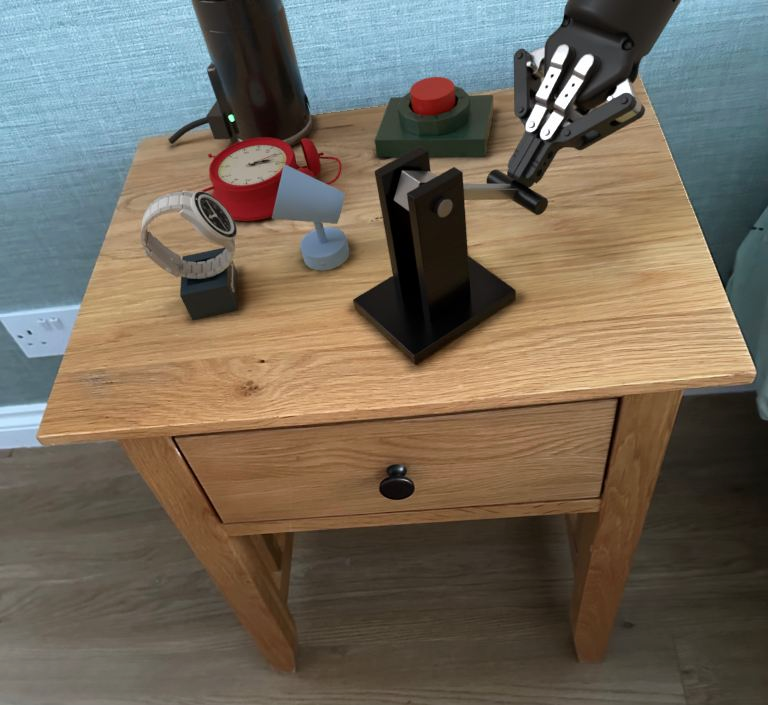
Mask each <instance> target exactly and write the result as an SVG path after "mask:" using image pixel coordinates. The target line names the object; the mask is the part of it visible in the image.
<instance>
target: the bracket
mask: <svg viewBox="0 0 768 705" xmlns="http://www.w3.org/2000/svg"><path fill="white" fill-rule="evenodd" d="M430 162H431V161H430V157H429V151H428V150H426V149H425V148H423V147H421V146H420V147H418V148H416V149H414V150H412V151H410V152H408V153H407V154H405V155H403V156H401V157H396V158H395V159H394V160H392V161H390V162H388V163H386V164H384V165H383V166H381V167H379V168H377V169H375V170H374V171H373V172H374V176H375V182H376V183H375V184H376V189H377V194H378V199H379V205H380V211H381V216H382V222H383V228H384V233H385V240H386V245H387V250H388V257H389V262H390V268H391V274H392V275H391V276H390V277H388V278H387V279H384V280H383V281H381V282H380V283H378V284H376V285H375V286H373V287H371V288H370V289H368V290H366V291H364V292H363V293H361V294H359V295H357V297H354V298H353V299H352V302H353V307H354V310H355V311H356V312H358V314H360V315H361V316H362V317H363V318H364V319H365V320H366V321H367V322H368V323H369V324H371V325H372V326H373V328H375V329H376V330H377V331H378V332H379V333H380V334H381V335H382V336H384V338H386V339H387V340H388V341H389V342H390V343H391V344H392V345H393V346H394V347H395V348H396V349H397V350H398V351H399V352H400V353H401V354H402V355H404V356H405V357H406V358H407V359H408V360H409V361H410V362H411V363H412V364H413V365H414V366H417V365H419V364H420V363H422V362H423V361H425V360H426V359H428V358H430V357H431V356H432V355H434V354H436V353H437V352H439V351H440V350H441V349H443V348H445V347H446V346H447V345H449V344H450V343H452V342H454V341H455V340H457V339H458V338H460V337H462V336H463V335H465V334H466V333H468V332H469V331H470V330H472V329H474V328H475V327H477V326H478V325H480V324H481V323H483V322H484V321H486V320H487V319H489V318H490V317H492V316H493V315H495V314H497V313H498V312H499V311H501V310H503V309H504V308H506V307H507V306H509V305H510V304H511V303H513V302H515V301H516V300H517V291H516V290H517V289H515V288H514V287H512V286H511V285H509V283H507V282H505V281H504V280H503V279H502V278H500V277H499V276H497V275H496V274H494V273H493V272H491V271H490V270H488V268H486V267H485V266H484V265H482V264H480V263H479V262H477V261H476V260H475V259H474V258H472V257H471V256H470V255H469V250H468V249H469V247H468V234H467V233H468V232H467V219H466V205H465V202H466V200H464V186H463V183H464V173H463V171H461V169H458V168H457V167H456V166H452V167H451V168H449V169H448V170H445V171H444V172H442V173H440V174H439V175H436V176H437V177H435V178H433V179H431V180H430V181H428V182H426V183H424V184H422V185H421V186H419V187H417V188H415V189H413V190H412V191H410V192H408V193H407V199H408V206H409V211H408V210H406V209H405V208H404V207H402V206H401V205H400V204H398V203H397V202H395V201H394V197H395V194H396V190H397V186H398V183H399V179H400V176H401V172H402V170H404V171H430V172H432V170H431V163H430Z"/></svg>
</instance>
